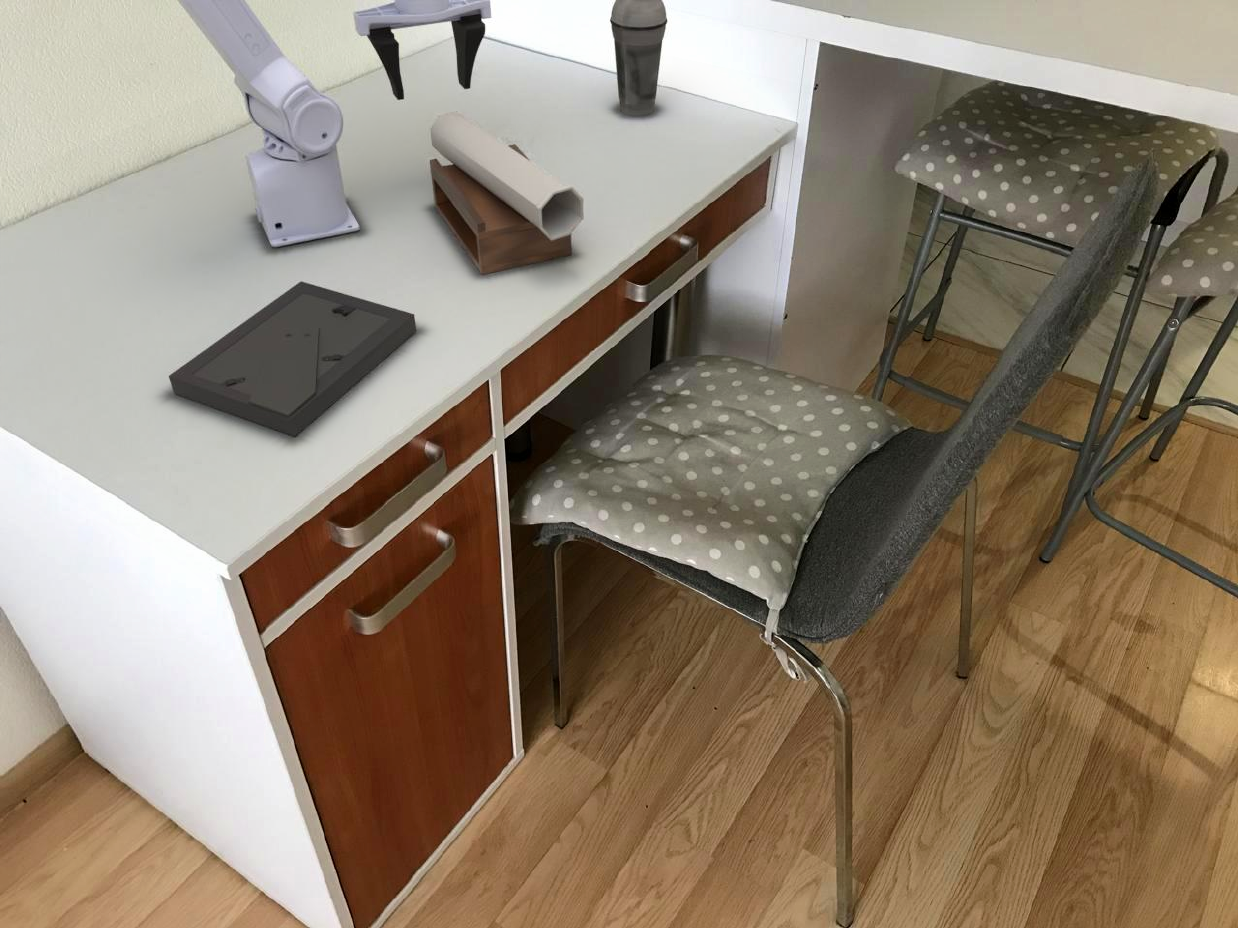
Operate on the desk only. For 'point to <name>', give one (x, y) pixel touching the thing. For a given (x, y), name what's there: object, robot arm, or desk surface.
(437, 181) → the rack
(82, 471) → the desk surface
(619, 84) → the beverage cup
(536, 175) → the tube
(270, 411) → the picture frame
